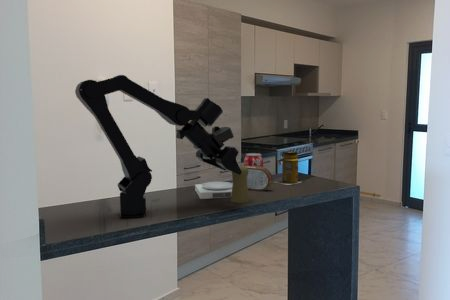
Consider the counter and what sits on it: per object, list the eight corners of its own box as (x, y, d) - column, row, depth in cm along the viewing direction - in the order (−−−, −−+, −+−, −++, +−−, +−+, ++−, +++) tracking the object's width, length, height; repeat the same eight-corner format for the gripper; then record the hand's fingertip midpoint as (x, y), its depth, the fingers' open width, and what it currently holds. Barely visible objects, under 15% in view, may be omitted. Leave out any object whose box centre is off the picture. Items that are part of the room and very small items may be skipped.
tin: (272, 190, 145) (273, 167, 144) (269, 192, 142) (269, 168, 141) (235, 186, 152) (234, 164, 151) (231, 188, 149) (231, 165, 148)
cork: (248, 203, 127) (248, 168, 125) (228, 202, 128) (228, 167, 127) (250, 198, 132) (250, 165, 131) (232, 198, 134) (232, 164, 132)
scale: (200, 199, 132) (200, 190, 132) (195, 190, 146) (195, 181, 146) (242, 197, 135) (242, 188, 135) (233, 188, 149) (233, 180, 149)
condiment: (302, 182, 160) (303, 151, 158) (289, 185, 154) (289, 153, 152) (287, 180, 165) (287, 150, 163) (274, 182, 159) (274, 152, 158)
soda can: (266, 185, 154) (266, 153, 152) (257, 189, 148) (257, 155, 146) (249, 183, 157) (249, 152, 156) (240, 186, 151) (240, 154, 150)
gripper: (232, 119, 115) (265, 155, 122) (204, 117, 132) (234, 149, 138) (207, 148, 113) (242, 184, 119) (181, 143, 129) (213, 174, 135)
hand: (233, 171), depth 128 cm, fingers open, 9 cm apart
